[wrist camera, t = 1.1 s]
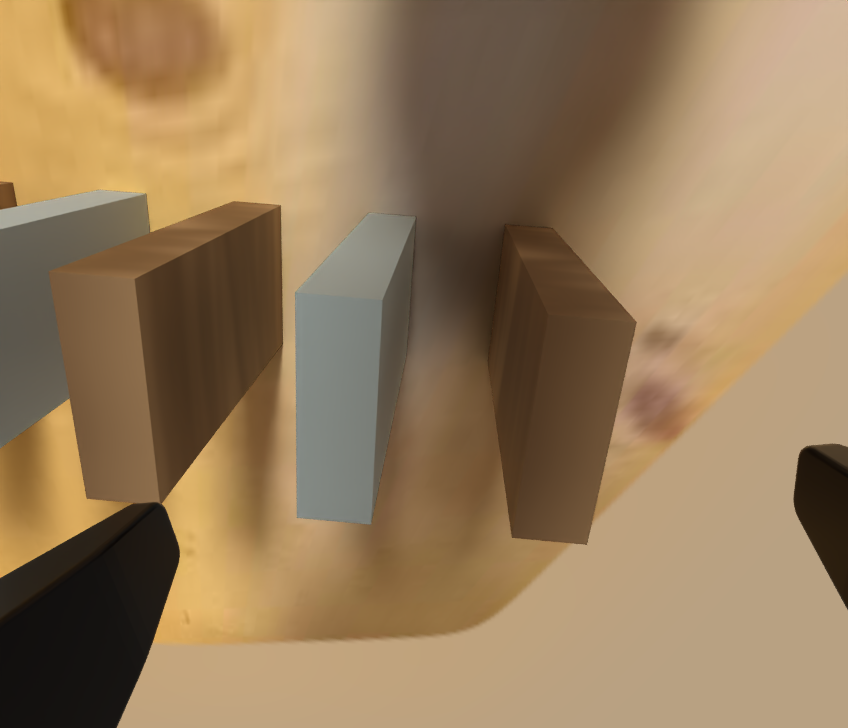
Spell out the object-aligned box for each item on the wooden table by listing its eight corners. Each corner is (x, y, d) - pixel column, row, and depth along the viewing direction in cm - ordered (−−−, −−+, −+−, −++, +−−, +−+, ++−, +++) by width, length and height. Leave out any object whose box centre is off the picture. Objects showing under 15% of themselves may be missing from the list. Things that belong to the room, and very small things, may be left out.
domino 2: (280, 205, 20) (134, 278, 11) (282, 343, 22) (160, 505, 13) (233, 201, 20) (48, 271, 11) (239, 339, 22) (87, 498, 13)
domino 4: (552, 228, 20) (636, 322, 11) (531, 365, 22) (586, 544, 13) (505, 224, 20) (548, 314, 11) (487, 361, 22) (511, 537, 13)
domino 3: (415, 216, 20) (382, 299, 11) (406, 354, 22) (371, 524, 13) (368, 212, 20) (295, 292, 11) (363, 350, 22) (296, 517, 13)
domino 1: (146, 193, 20) (-114, 257, 11) (160, 332, 22) (-52, 485, 13) (99, 189, 20) (-199, 249, 11) (117, 328, 22) (-124, 478, 13)
